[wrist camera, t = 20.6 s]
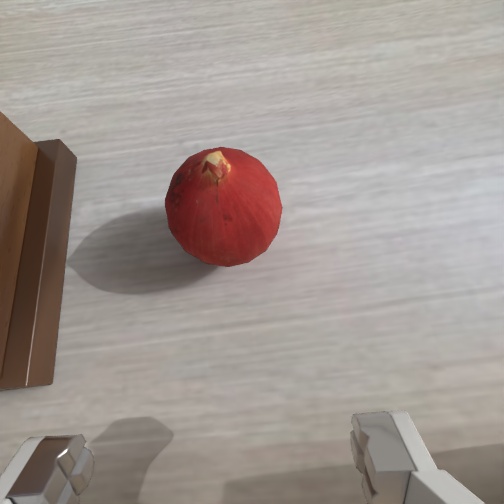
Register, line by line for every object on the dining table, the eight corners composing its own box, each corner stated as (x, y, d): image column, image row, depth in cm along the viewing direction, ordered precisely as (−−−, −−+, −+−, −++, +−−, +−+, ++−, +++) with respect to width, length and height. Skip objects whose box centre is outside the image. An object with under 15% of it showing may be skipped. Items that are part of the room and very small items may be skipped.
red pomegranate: (176, 272, 19) (113, 212, 11) (199, 190, 21) (158, 91, 13) (270, 289, 18) (272, 236, 10) (285, 203, 20) (295, 105, 12)
